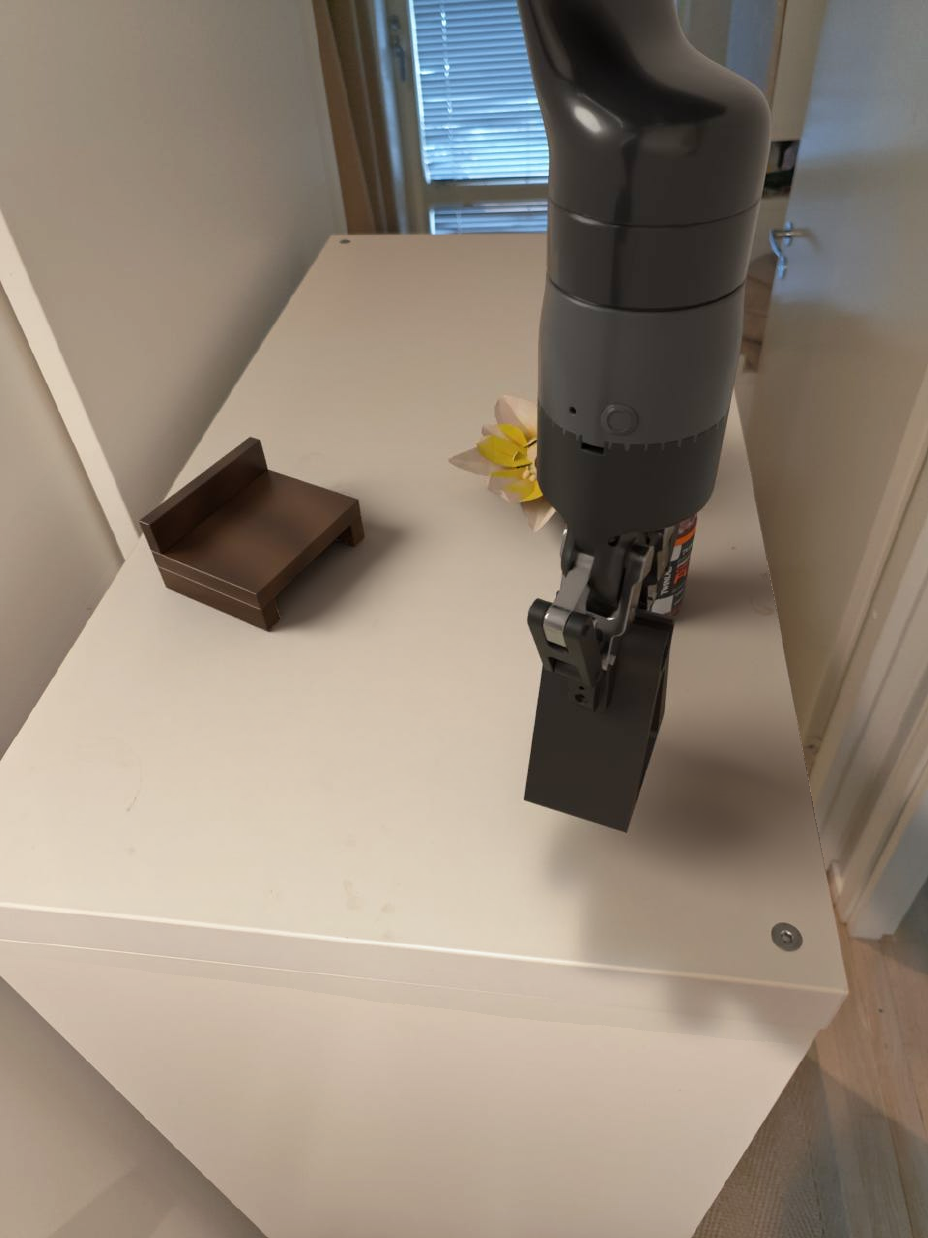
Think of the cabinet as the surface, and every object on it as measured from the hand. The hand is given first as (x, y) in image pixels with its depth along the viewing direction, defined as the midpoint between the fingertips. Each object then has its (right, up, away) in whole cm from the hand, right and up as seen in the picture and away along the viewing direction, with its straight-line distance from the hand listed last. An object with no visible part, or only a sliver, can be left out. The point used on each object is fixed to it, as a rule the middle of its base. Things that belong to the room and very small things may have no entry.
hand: (604, 676), depth 45 cm
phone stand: (0, -5, +5) cm, 7 cm away
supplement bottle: (+6, +4, +21) cm, 22 cm away
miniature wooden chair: (-24, +8, +26) cm, 36 cm away
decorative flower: (-1, +15, +31) cm, 35 cm away
